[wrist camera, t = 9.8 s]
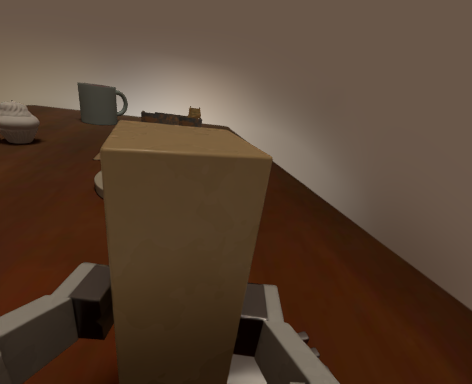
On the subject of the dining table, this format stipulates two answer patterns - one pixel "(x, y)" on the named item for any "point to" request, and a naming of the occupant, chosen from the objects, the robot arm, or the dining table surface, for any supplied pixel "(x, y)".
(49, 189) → the dining table surface
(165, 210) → the brown block with prongs
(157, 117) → the ruin model on sheet
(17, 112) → the muffin
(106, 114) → the mug
